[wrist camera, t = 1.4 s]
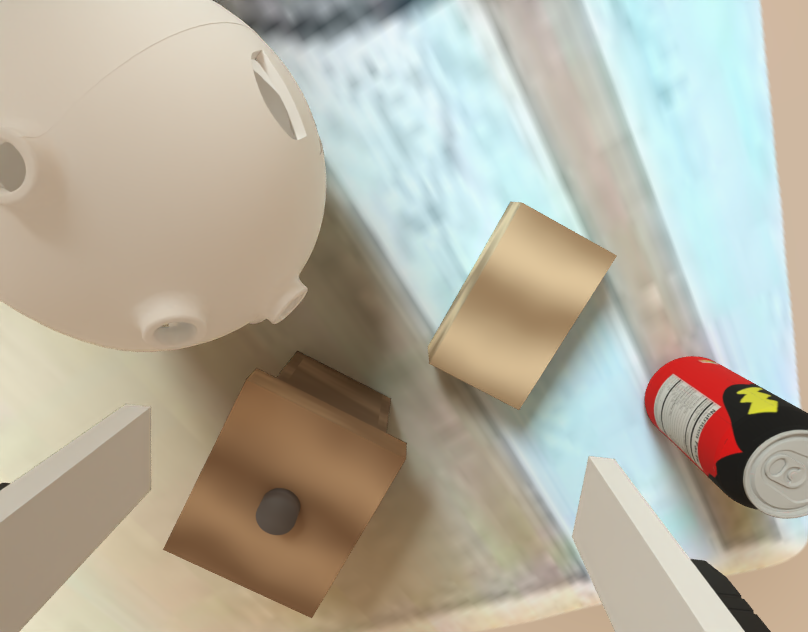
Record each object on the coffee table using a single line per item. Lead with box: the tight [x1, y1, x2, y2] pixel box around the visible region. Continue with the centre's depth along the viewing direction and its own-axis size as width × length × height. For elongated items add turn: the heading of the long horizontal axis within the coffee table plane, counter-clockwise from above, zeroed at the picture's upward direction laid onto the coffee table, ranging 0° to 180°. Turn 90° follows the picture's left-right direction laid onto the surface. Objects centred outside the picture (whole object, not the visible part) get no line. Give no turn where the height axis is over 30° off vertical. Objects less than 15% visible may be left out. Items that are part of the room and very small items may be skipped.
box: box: [277, 351, 391, 433], centre depth 37 cm, size 12×8×7 cm, turn 152°
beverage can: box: [645, 356, 808, 519], centre depth 33 cm, size 6×6×12 cm
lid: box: [163, 368, 407, 618], centre depth 32 cm, size 13×10×3 cm
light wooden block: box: [428, 202, 616, 410], centre depth 35 cm, size 12×7×4 cm, turn 152°
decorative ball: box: [0, 0, 326, 352], centre depth 26 cm, size 20×17×20 cm
